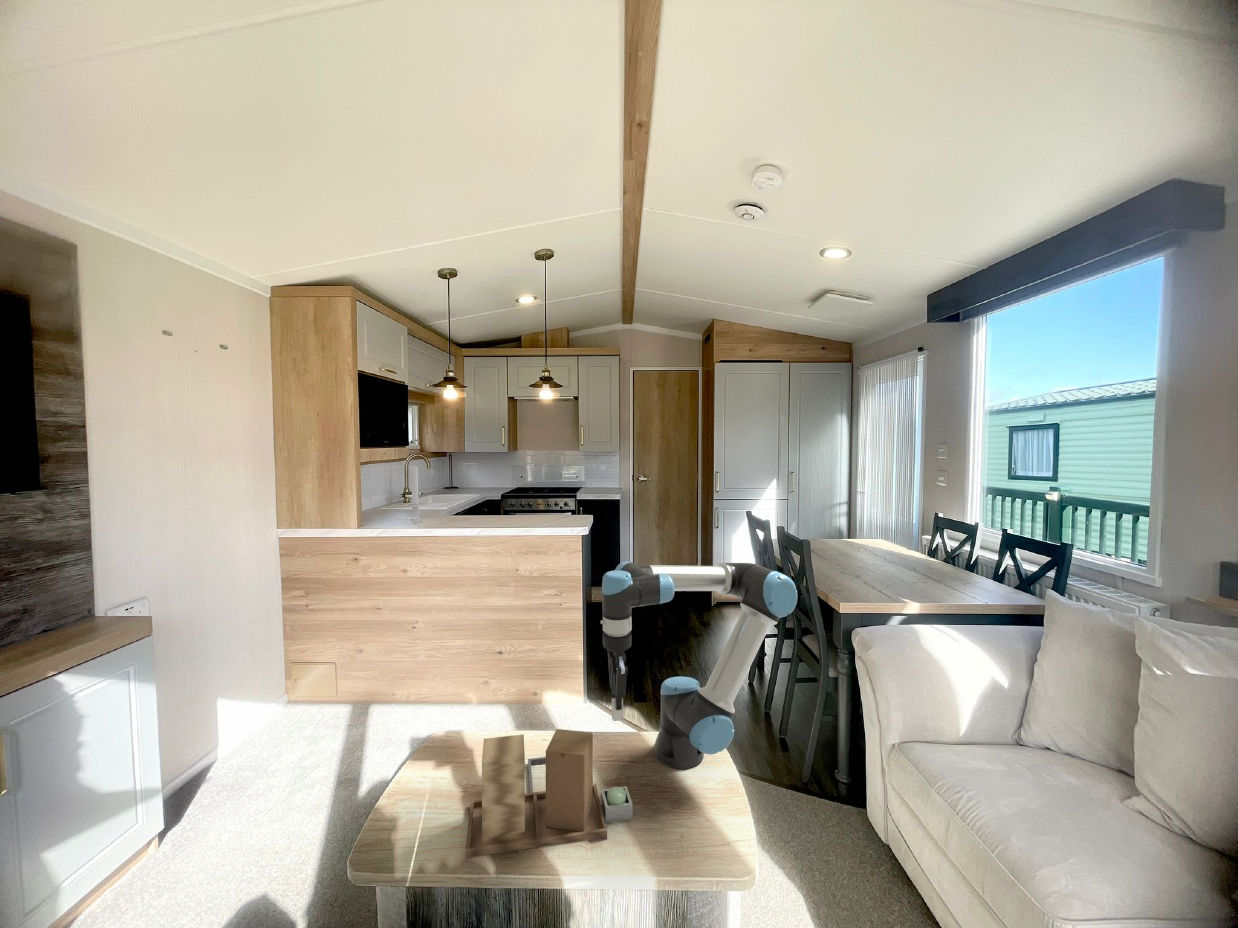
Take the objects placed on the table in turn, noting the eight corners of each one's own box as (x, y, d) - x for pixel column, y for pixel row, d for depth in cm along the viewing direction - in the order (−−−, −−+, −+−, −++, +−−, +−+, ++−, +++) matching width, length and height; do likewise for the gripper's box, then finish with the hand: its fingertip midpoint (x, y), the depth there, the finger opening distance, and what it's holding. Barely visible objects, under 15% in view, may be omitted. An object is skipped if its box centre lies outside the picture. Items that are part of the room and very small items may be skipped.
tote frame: (580, 757, 159) (580, 752, 159) (588, 792, 143) (588, 787, 143) (527, 763, 156) (527, 758, 155) (530, 800, 140) (530, 794, 140)
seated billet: (523, 808, 136) (523, 734, 135) (524, 837, 126) (524, 757, 125) (484, 813, 134) (483, 738, 133) (482, 843, 124) (481, 762, 123)
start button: (623, 798, 139) (623, 785, 139) (627, 811, 134) (627, 798, 134) (605, 800, 138) (605, 788, 138) (609, 813, 133) (609, 800, 133)
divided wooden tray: (595, 791, 144) (595, 784, 144) (607, 838, 127) (607, 830, 127) (471, 808, 137) (470, 800, 137) (465, 860, 120) (465, 851, 120)
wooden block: (584, 833, 128) (584, 754, 127) (544, 828, 129) (545, 750, 128) (592, 804, 138) (593, 731, 137) (556, 800, 139) (556, 727, 138)
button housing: (626, 800, 140) (626, 786, 140) (632, 819, 134) (632, 804, 133) (600, 803, 139) (600, 789, 139) (605, 823, 132) (605, 807, 132)
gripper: (597, 623, 141) (598, 708, 143) (608, 642, 128) (609, 734, 130) (624, 621, 143) (625, 704, 144) (637, 639, 130) (638, 730, 132)
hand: (617, 718), depth 137 cm, fingers closed
